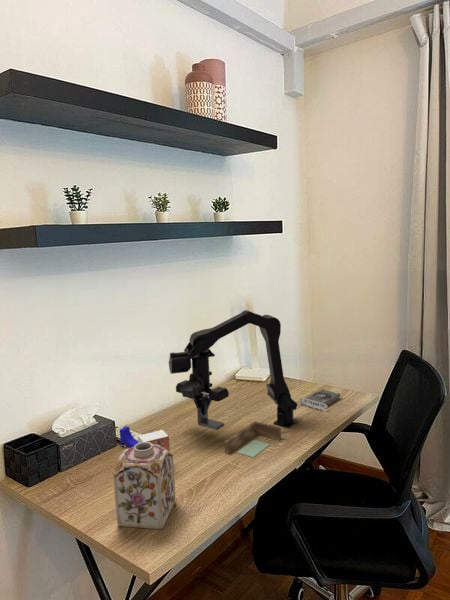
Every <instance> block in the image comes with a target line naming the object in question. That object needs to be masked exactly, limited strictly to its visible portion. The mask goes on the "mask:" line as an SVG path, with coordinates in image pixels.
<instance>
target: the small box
mask: <svg viewBox="0 0 450 600" xmlns="http://www.w3.org/2000/svg"><path fill="white" fill-rule="evenodd" d="M137 441H138V443H141V442H150V443H152V444H156V445H160V446H162V447H164V448H165V449H167V450H168V451H169V452H170V436H169V435H168V434H167V433H166V432H165V431H164V429H160V430H156V431H152V433H150V432H148V433H143V434H138V435H137ZM170 453H171V452H170Z"/></svg>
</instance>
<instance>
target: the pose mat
mask: <svg viewBox="0 0 450 600" xmlns="http://www.w3.org/2000/svg"><path fill="white" fill-rule="evenodd" d="M270 446H271V445H270V443H267V442H264V441H259V440H257V439H253V440H252V441H250V442H249V443H248V444H247V445H245V446H244V447H242V448H241V449H239V450H238V451H236V454H238V455H239V454H240V455H243V456H246V457H248V458H249V457H250V458H252V459H254V458H255V457H256V456H258V455H260V453H261V452H263V451H264V450H265V449H267V448H268V447H270Z"/></svg>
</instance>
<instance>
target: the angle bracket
mask: <svg viewBox="0 0 450 600" xmlns="http://www.w3.org/2000/svg"><path fill="white" fill-rule="evenodd" d="M196 409H197V411H196V412H197V426H200V427H204V428H208V429H211V430H215V431H218V430H220V429H221V428H224V426H225V422H221V421H218V420H214V419H211V418H209V412H208V411H209V410H208V411H207V413H206V415H203V411H202V406H200V407H198V408H197V407H196Z"/></svg>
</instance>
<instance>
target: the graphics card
mask: <svg viewBox="0 0 450 600" xmlns="http://www.w3.org/2000/svg"><path fill="white" fill-rule="evenodd" d="M340 397H341V393H340V392H338V393H336V392H334V391H331V390H325V388H322V389H319V390H318V391H316V392H314V393H312V394H310V395H308V396H305V397H301V398H299V407H300V406H303V407H307V408H308V407H309V408H308V409H314V408H315V409H317V410H316V411H319V410H320V411H321V410H324V411H323V412H325V411H327V412H328V405H330V404H332V403H334V402H336V401H337V400H338V399H339V398H340ZM333 401H334V402H333ZM331 402H332V403H331ZM315 409H314V410H315Z"/></svg>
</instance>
